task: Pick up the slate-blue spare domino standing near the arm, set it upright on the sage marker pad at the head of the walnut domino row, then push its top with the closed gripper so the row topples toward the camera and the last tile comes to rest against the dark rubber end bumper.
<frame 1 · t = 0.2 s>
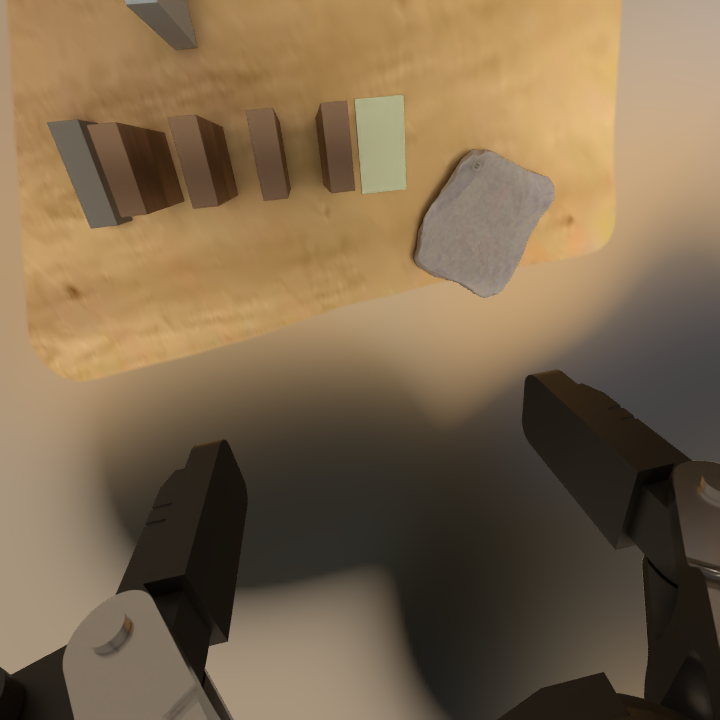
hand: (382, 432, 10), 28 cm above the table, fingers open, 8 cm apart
domino 4: (220, 163, 31), on the table
domino 3: (275, 157, 31), on the table
spare domino: (175, 3, 26), on the table
end bumper: (103, 175, 30), on the table
domino 5: (164, 169, 31), on the table
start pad: (381, 146, 32), on the table
domino 2: (329, 152, 32), on the table
stone block: (467, 221, 37), on the table
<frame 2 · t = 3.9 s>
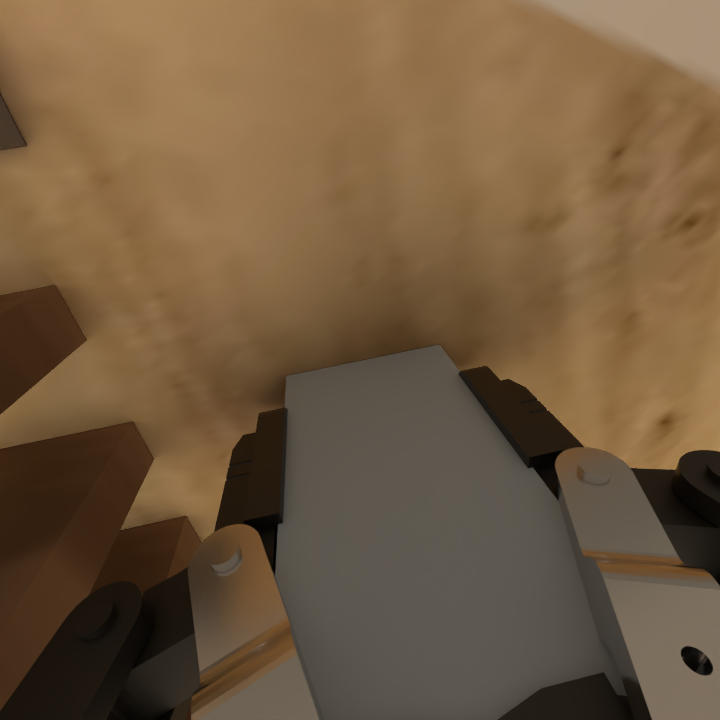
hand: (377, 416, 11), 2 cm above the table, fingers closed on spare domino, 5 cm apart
domino 4: (65, 457, 12), on the table
domino 3: (128, 544, 14), on the table
spare domino: (367, 380, 12), on the table, touching gripper
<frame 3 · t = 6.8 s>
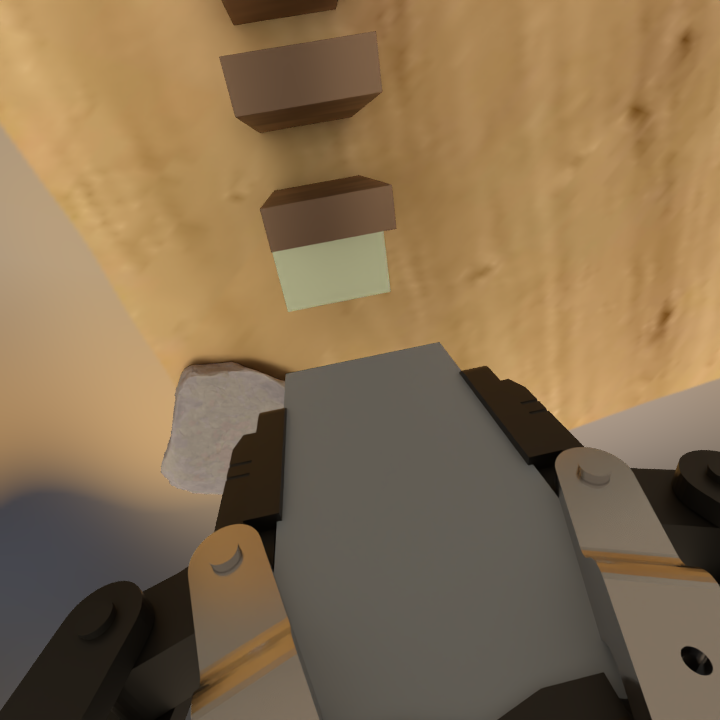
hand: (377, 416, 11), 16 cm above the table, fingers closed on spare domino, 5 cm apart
domino 3: (302, 107, 20), on the table
spare domino: (366, 378, 12), point 14 cm above the table, touching gripper
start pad: (333, 272, 24), on the table
domino 2: (319, 197, 22), on the table
stone block: (257, 413, 29), on the table
when the fingers open (2 cm above the table, at t = 9.9 s): spare domino stays where it is, resting on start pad.
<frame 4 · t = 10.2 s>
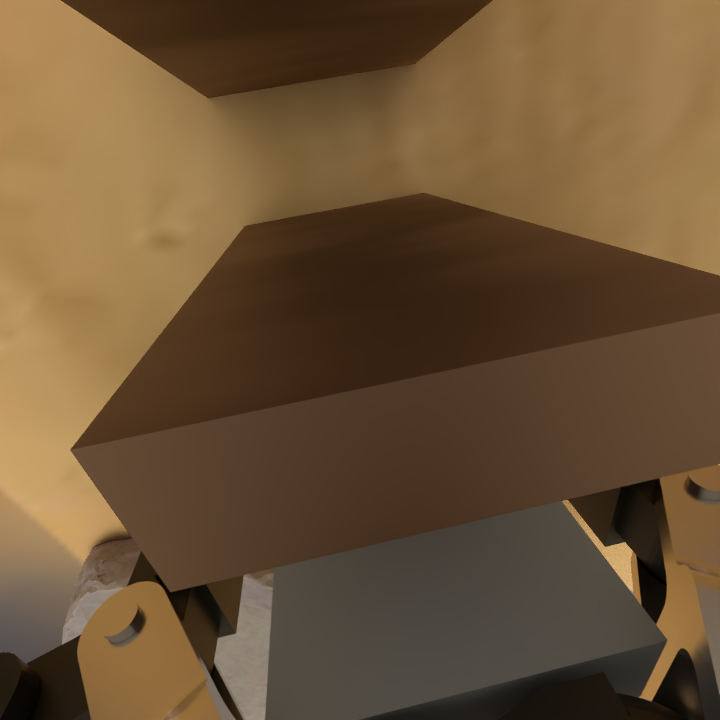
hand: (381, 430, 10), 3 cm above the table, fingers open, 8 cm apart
domino 3: (305, 37, 9), on the table
spare domino: (364, 372, 13), resting on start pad
domino 2: (340, 238, 11), on the table
stone block: (229, 587, 18), on the table
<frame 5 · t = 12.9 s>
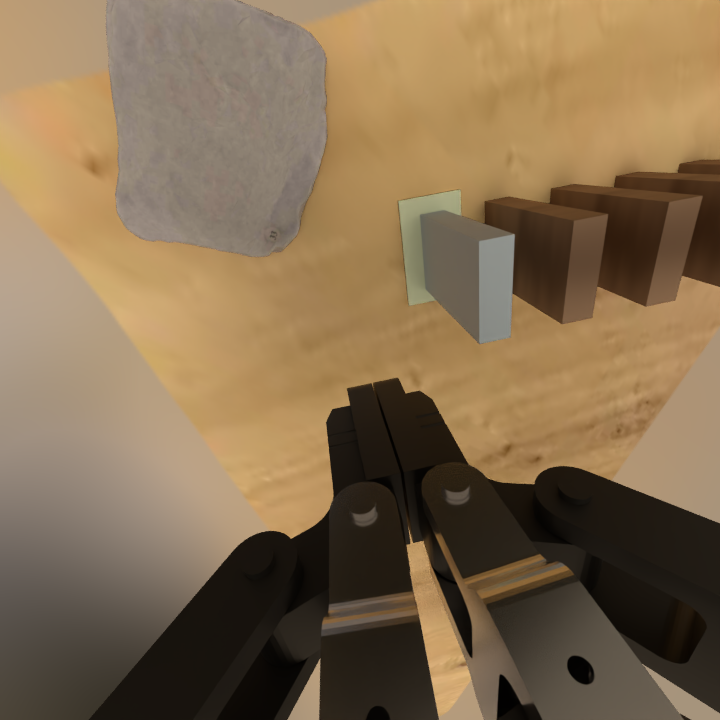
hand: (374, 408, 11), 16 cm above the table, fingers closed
domino 4: (620, 213, 26), on the table
domino 3: (559, 225, 26), on the table
spare domino: (434, 251, 25), resting on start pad
domino 5: (681, 201, 26), on the table
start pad: (432, 250, 25), on the table
domino 2: (496, 238, 26), on the table
stone block: (234, 141, 21), on the table
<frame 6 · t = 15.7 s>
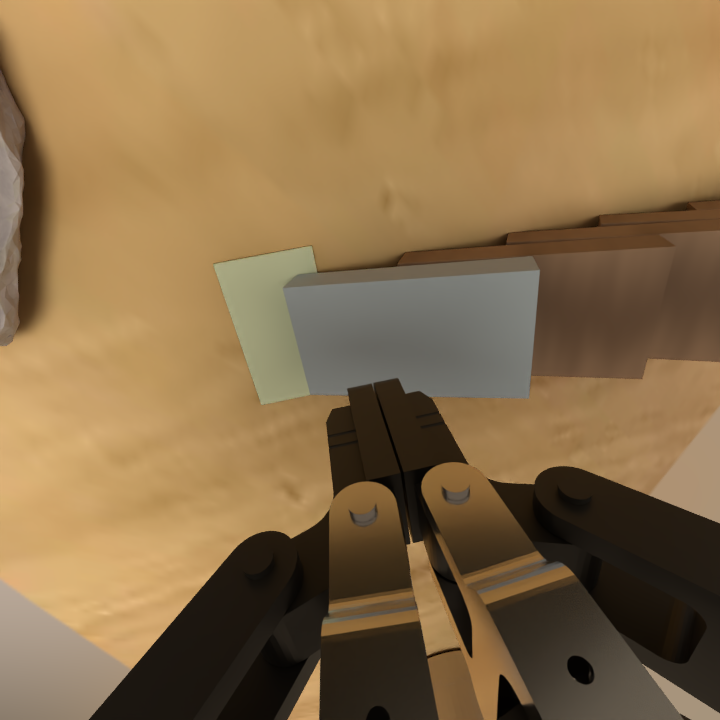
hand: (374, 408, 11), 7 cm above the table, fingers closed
domino 4: (590, 276, 17), point 1 cm above the table, tilted 56°, touching domino 3, domino 5
domino 3: (505, 294, 17), point 1 cm above the table, tilted 60°, touching domino 2, domino 4
spare domino: (304, 336, 16), point 1 cm above the table, tilted 68°, touching domino 2, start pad
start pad: (284, 331, 17), on the table
domino 2: (406, 313, 17), point 1 cm above the table, tilted 65°, touching domino 3, spare domino
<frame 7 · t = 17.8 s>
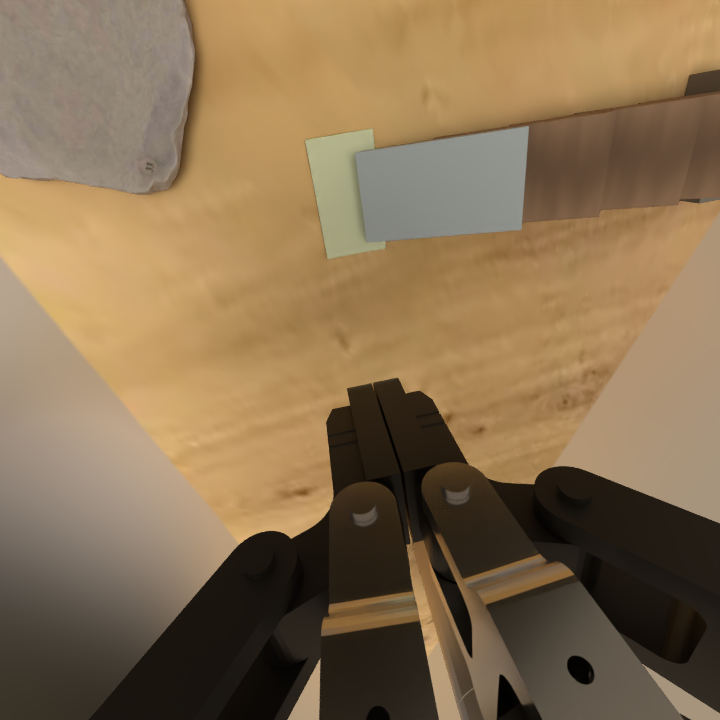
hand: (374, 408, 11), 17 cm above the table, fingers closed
domino 4: (568, 160, 24), point 1 cm above the table, tilted 56°, touching domino 3, domino 5
domino 3: (507, 172, 24), point 1 cm above the table, tilted 60°, touching domino 2, domino 4
spare domino: (364, 198, 23), point 1 cm above the table, tilted 68°, touching domino 2, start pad
end bumper: (688, 138, 25), on the table
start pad: (348, 198, 24), on the table
domino 2: (436, 184, 23), point 1 cm above the table, tilted 65°, touching domino 3, spare domino
stone block: (103, 65, 20), on the table
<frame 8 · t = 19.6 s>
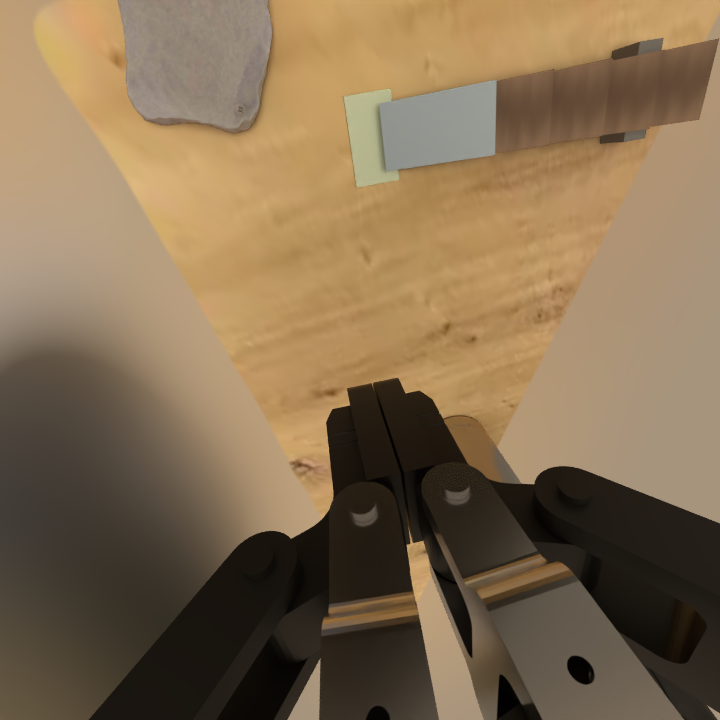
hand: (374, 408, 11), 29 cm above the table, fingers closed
domino 4: (529, 112, 33), point 1 cm above the table, tilted 56°, touching domino 3, domino 5
domino 3: (485, 120, 33), point 1 cm above the table, tilted 60°, touching domino 2, domino 4
spare domino: (384, 138, 33), point 1 cm above the table, tilted 68°, touching domino 2, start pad
end bumper: (616, 97, 34), on the table
domino 5: (572, 105, 33), point 1 cm above the table, tilted 56°, touching domino 4, end bumper
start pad: (372, 140, 33), on the table
domino 2: (435, 129, 33), point 1 cm above the table, tilted 65°, touching domino 3, spare domino
stone block: (207, 44, 29), on the table
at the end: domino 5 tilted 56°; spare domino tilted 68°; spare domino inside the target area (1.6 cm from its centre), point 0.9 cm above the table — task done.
